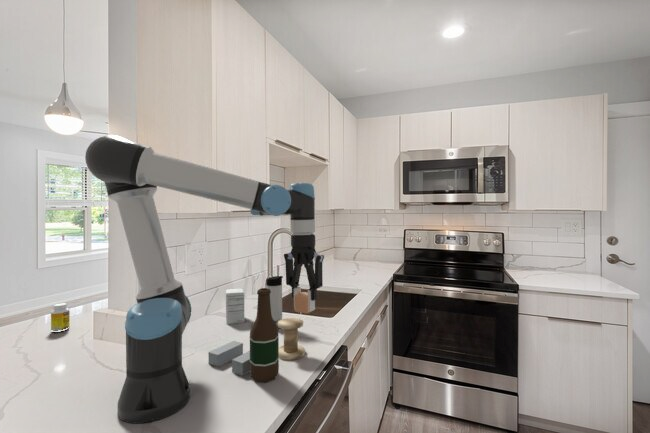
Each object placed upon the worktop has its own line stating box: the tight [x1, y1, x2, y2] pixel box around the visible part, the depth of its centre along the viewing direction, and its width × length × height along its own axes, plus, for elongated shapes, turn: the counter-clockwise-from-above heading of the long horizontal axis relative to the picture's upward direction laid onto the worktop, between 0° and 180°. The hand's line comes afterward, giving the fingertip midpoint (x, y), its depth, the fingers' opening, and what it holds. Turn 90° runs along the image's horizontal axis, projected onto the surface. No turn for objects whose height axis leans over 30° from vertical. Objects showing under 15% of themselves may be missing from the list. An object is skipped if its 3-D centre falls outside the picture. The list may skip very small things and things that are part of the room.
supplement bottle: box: [50, 302, 70, 331], centre depth 125 cm, size 6×6×10 cm
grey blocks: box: [208, 340, 250, 376], centre depth 97 cm, size 10×14×4 cm
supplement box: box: [225, 288, 246, 325], centre depth 136 cm, size 7×7×13 cm
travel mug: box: [265, 275, 284, 329], centre depth 129 cm, size 6×7×20 cm
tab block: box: [294, 291, 310, 314], centre depth 100 cm, size 4×4×5 cm
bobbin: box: [278, 317, 306, 361], centre depth 103 cm, size 9×9×10 cm
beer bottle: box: [249, 287, 280, 384], centre depth 89 cm, size 8×8×24 cm
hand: (304, 309), depth 100 cm, fingers closed on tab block, 4 cm apart
